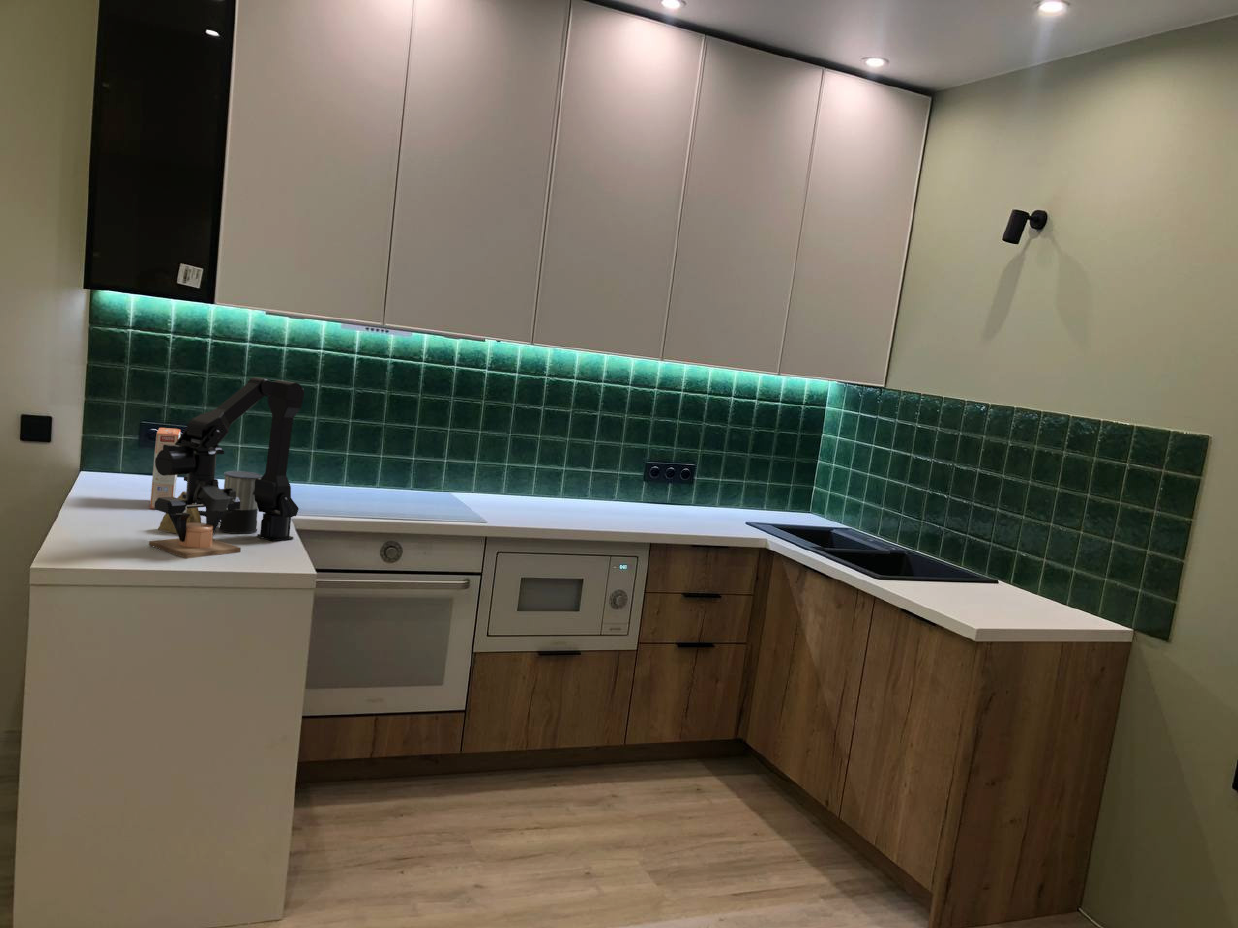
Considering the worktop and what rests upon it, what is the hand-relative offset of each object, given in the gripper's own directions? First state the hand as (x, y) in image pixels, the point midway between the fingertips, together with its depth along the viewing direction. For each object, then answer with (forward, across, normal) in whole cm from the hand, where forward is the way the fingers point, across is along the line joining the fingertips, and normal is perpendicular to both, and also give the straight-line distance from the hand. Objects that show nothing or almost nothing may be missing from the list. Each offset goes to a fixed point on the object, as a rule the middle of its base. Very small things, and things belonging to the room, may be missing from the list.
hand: (195, 540), depth 229 cm
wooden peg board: (+2, 0, 0) cm, 2 cm away
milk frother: (+2, +19, +16) cm, 25 cm away
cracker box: (+2, +23, +48) cm, 53 cm away
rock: (+2, +7, +16) cm, 18 cm away
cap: (+1, 0, 0) cm, 1 cm away
